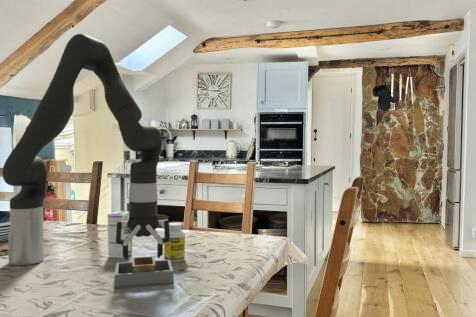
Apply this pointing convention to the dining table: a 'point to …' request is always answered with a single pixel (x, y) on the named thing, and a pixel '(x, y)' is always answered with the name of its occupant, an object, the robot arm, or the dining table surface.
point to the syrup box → (113, 247)
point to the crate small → (143, 264)
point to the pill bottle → (175, 243)
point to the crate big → (143, 275)
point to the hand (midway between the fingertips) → (143, 258)
